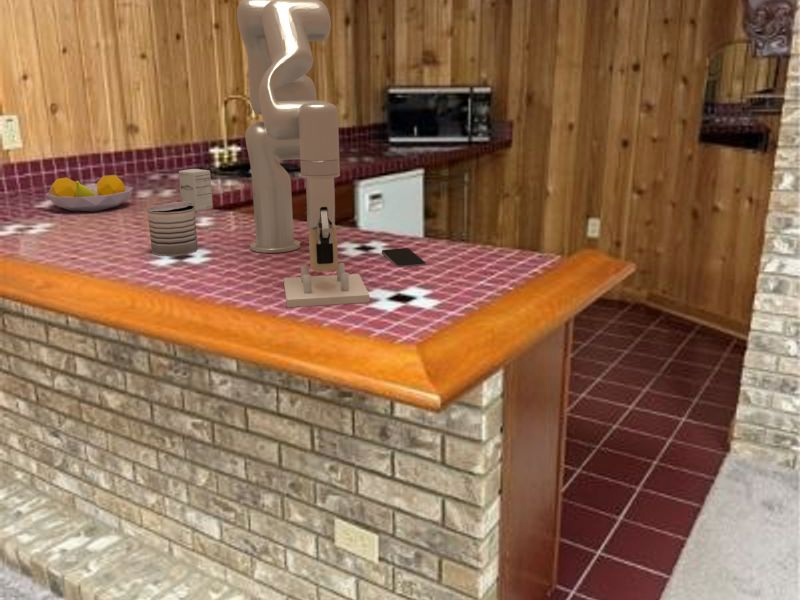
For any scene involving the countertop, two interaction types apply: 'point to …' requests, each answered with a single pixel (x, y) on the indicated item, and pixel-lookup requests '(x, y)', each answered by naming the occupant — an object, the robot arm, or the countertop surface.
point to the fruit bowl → (89, 194)
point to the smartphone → (403, 257)
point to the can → (173, 229)
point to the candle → (313, 253)
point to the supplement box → (196, 188)
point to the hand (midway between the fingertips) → (323, 258)
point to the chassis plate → (325, 289)
